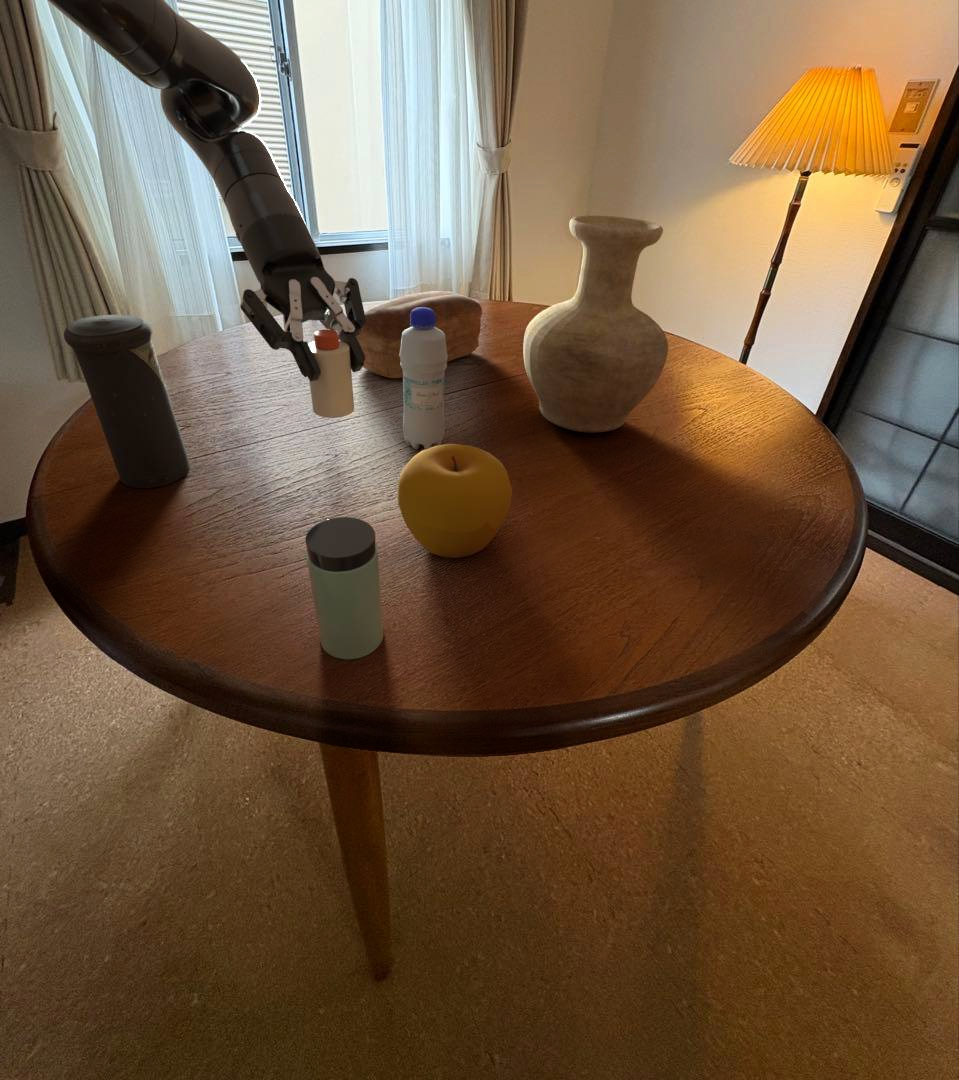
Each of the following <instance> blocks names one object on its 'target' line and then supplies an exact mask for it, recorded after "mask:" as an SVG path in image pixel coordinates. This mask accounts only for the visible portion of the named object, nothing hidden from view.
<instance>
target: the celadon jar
mask: <svg viewBox="0 0 959 1080" xmlns="http://www.w3.org/2000/svg"><path fill="white" fill-rule="evenodd" d="M304 539H305V540H304V541H305V547H306V551H305V558H306V564H307V570H308V577H309V582H310V589H311V594H312V599H313V607H314V612H315V618H316V624H317V630H318V636H319V641H320V645H321V648H322V649H323V650H324V652H326V653H327V654H328V655H329V656H331V657H333V658H337V659H340V660H356V659H361V658H364V657H366V656H368V655H370V654H372V653H373V652H374V651H376V650H377V649H378V648H379V646H381V643H382V642H383V639H384V634H385V633H384V632H385V630H384V617H383V616H384V615H383V603H382V602H383V601H382V588H381V572H380V559H379V557H380V555H379V546H378V544H377V540H376V532H375V529H374V528H373V526H372V525H371V524H369V523H368V522H367V521H365V520H363V519H360V518H356V517H350V516H339V517H332V518H328V519H325V520H322V521H320V522H318V523H316V524H315V525H314V526H312V527H311V528H310V529H309V530H308V532H307V533H306V535H305V538H304Z"/></svg>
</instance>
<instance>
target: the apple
mask: <svg viewBox="0 0 959 1080" xmlns="http://www.w3.org/2000/svg"><path fill="white" fill-rule="evenodd" d="M397 483H398V485H397V490H396V491H397V492H396V494H397V504H398V507H399V510H400V513H401V517H402V520H403V522H404V523H405V525H406V527H407V529H408V531H409V532H410V533H411V535H412V536H413V537H414V538H415V540H416V541H417V542H418V543H419V544H420V546H422V548H424V549H425V550H426V551H427V552H429V553H430V554H432V555H436V556H438V557H441V558H450V559H451V558H452V559H453V558H456V559H458V558H463V557H468V556H472V555H474V554H476V553H480V552H481V551H482V550H483V549H485V547H487V546H488V544H489V543H490V542H491V541H492V540H493V539H494V538H495V537H496V536H497V534H498V532H499V530H500V528H501V526H502V524H503V523H504V521H505V519H506V517H507V515H508V512H509V510H510V508H511V505H512V504H511V503H512V498H513V497H512V496H513V488H512V485H511V481H510V478H509V474H508V471H507V470H506V468H505V465H504V464H503V463H502V462H501V461H500V460H499V459H498V458H497V457H495V455H493V454H491V453H490V452H488V451H486V450H484V449H481V448H479V447H476V446H474V445H473V446H472V445H467V444H458V443H446V444H440V445H438V446H434V447H433V446H431V447H430V448H429V449H426V450H425V449H422V450H421V451H420V452H418V453H416V454H415V455H414V456H412V458H411V459H410V460H409V461H408V462H407V463H406V464H405V466H404V467H403V468H402V470H401V472H400V475H399V477H398V482H397Z"/></svg>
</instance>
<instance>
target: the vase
mask: <svg viewBox="0 0 959 1080" xmlns="http://www.w3.org/2000/svg"><path fill="white" fill-rule="evenodd" d="M568 225H569V231H570V233H571V235H572V237H574V238H575V239H577V240H579V241H580V243H581V245H582V259H581V267H580V273H579V278H578V284H577V287H576V292H575V294H574V296H573V297H572V298H570V299H568V300H564V301H561V302H559V303H555V304H553V305H551V306H549V307H547V308H545V309H542V311H540V312H539V313H538V314H537V315H535V316H534V317H533V318H532V319H531V321H529V323H528V324H527V326H526V327H525V331H524V335H523V343H522V344H523V345H522V347H523V348H522V350H523V364H524V368H525V372H526V375H527V377H528V380H529V382H530V385H531V387H532V389H533V391H534V393H535V395H536V397H537V399H538V404H539V405H538V406H539V408H538V409H539V411H540V413H541V415H542V416H543V417H544V419H546V420H547V421H548V422H550V423H551V424H553V425H555V426H558V427H560V428H562V429H565V430H569V431H573V432H579V433H588V434H589V433H592V434H593V433H595V434H596V433H606V432H610V431H614V430H616V429H619V428H620V427H621V426H623V425H624V423H625V422H627V419H628V416H629V415H630V413H631V412H632V411H633V410H634V409H635V408H636V407H637V406H638V405H640V403H641V402H642V401H643V400H644V399H645V398H646V397H647V396H648V394H649V393H650V392H651V391H652V390H653V389H654V387H655V386H656V384H657V383H658V381H659V379H660V377H661V374H662V373H663V370H664V367H665V365H666V362H667V357H668V353H669V342H668V339H667V336H666V333H665V332H664V330H663V328H662V327H661V326H660V324H659V323H657V322H656V321H655V320H654V319H653V318H652V317H651V316H650V315H648V314H647V313H645V312H644V311H642V310H640V309H639V308H637V307H636V306H635V305H634V303H633V301H632V300H633V299H632V296H633V295H632V294H633V289H634V288H633V287H634V282H635V276H636V272H637V267H638V262H639V258H640V255H641V253H642V252H643V251H644V249H646V248H647V247H650V246H652V245H655V244H657V242H658V241H659V240H660V239H661V237H662V235H663V233H664V228H663V227H662V225H660V224H658V223H656V222H651V221H648V220H644V219H639V218H631V217H630V218H629V217H622V216H614V215H613V216H611V215H581V216H574V217H572V218H571V219H570V220H569V224H568Z"/></svg>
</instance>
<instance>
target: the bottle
mask: <svg viewBox="0 0 959 1080" xmlns="http://www.w3.org/2000/svg"><path fill="white" fill-rule="evenodd" d="M410 323H411V326H412V327H410V328H408V329H406V330H404V331H403V333H402V338H401V348H400V359H401V363H400V365H401V367H402V369H403V378H402V387H403V388H402V389H403V393H402V394H403V419H402V431H403V432H402V433H403V438H404V441H405V443H406V444H407V445H409V446H411V448H413V449H414V450H419V448H420V445H422V446H423V450H426V449H429V448H431V447H434V446H438V445H442V443H443V442H442V441H443V439H444V437H445V431H446V422H445V421H446V420H445V371H446V369H447V367H448V362H447V358H448V355H447V348H446V338H445V334H444V332H443V331H441V330H439V329H438V328H436V327H435V323H436V317H435V313H434V311H433V310H432V309H430V308H425V307H419V308H415V309H413V310H412V311H411V315H410Z"/></svg>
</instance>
